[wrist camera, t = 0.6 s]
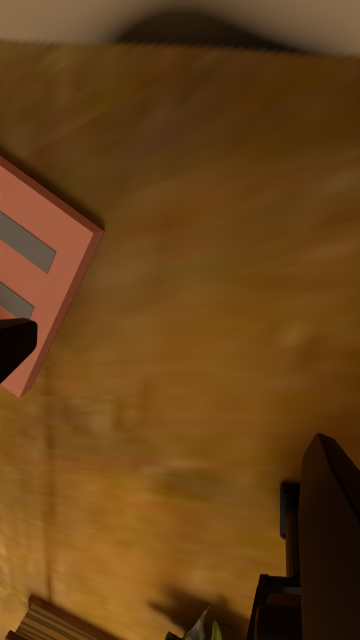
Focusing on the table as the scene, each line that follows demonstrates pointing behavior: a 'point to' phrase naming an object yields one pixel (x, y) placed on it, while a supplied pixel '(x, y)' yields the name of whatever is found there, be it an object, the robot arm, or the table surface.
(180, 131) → the table surface
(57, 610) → the diary
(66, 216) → the switch bank
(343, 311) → the table surface
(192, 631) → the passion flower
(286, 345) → the table surface
